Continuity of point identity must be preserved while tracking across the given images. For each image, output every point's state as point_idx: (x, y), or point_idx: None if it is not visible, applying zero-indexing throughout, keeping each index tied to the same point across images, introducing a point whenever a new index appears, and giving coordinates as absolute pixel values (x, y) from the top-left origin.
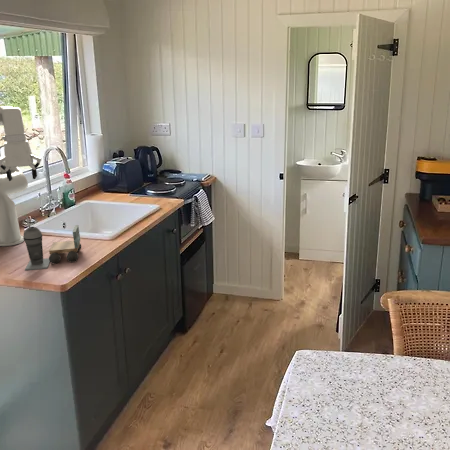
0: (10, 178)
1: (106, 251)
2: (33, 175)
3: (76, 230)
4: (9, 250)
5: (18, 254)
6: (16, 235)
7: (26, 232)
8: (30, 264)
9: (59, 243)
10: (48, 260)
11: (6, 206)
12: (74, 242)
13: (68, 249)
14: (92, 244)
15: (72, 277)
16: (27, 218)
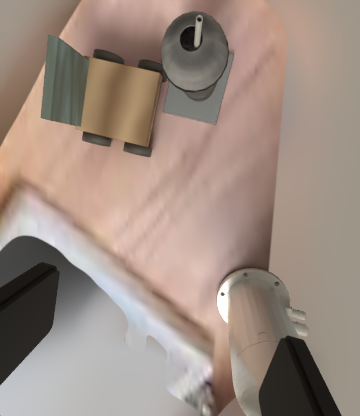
0: (287, 359)
1: (35, 104)
2: (18, 281)
3: (48, 61)
4: (259, 236)
5: (240, 193)
6: (237, 291)
7: (214, 23)
8: (217, 85)
9: (128, 127)
10: (171, 94)
11: (270, 359)
12: (79, 53)
13: (107, 61)
14: (65, 174)
15: None
16: (198, 20)
